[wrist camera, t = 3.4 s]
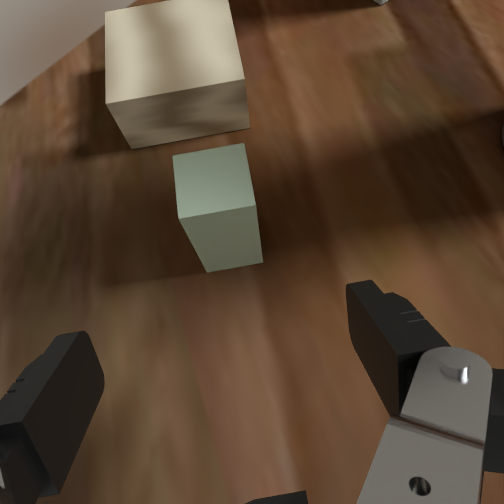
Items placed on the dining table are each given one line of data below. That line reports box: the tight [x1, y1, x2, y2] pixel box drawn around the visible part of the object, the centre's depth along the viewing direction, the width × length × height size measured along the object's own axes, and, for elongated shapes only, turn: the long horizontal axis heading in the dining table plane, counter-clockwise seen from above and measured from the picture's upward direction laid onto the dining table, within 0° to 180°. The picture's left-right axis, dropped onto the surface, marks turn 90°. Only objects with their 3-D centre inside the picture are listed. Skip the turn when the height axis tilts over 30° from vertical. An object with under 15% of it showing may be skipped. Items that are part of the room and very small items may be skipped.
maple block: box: [105, 0, 250, 149], centre depth 31 cm, size 10×10×5 cm
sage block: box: [173, 143, 263, 273], centre depth 24 cm, size 4×4×8 cm
